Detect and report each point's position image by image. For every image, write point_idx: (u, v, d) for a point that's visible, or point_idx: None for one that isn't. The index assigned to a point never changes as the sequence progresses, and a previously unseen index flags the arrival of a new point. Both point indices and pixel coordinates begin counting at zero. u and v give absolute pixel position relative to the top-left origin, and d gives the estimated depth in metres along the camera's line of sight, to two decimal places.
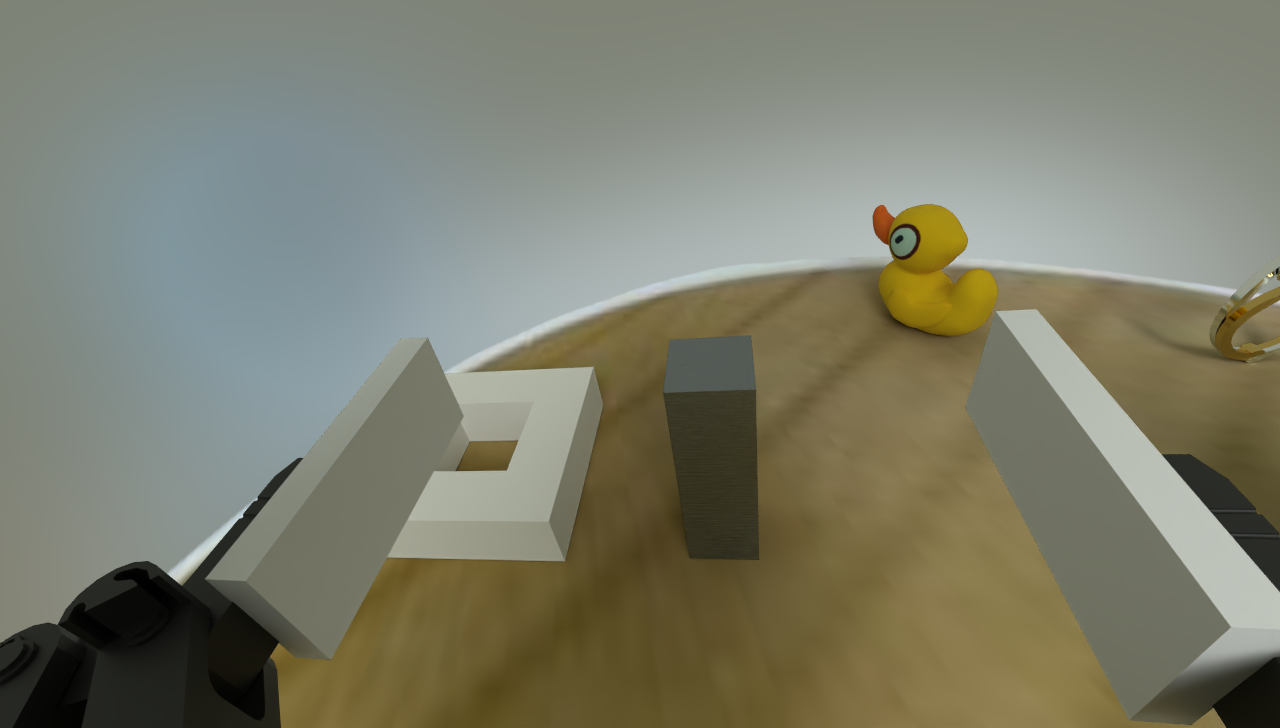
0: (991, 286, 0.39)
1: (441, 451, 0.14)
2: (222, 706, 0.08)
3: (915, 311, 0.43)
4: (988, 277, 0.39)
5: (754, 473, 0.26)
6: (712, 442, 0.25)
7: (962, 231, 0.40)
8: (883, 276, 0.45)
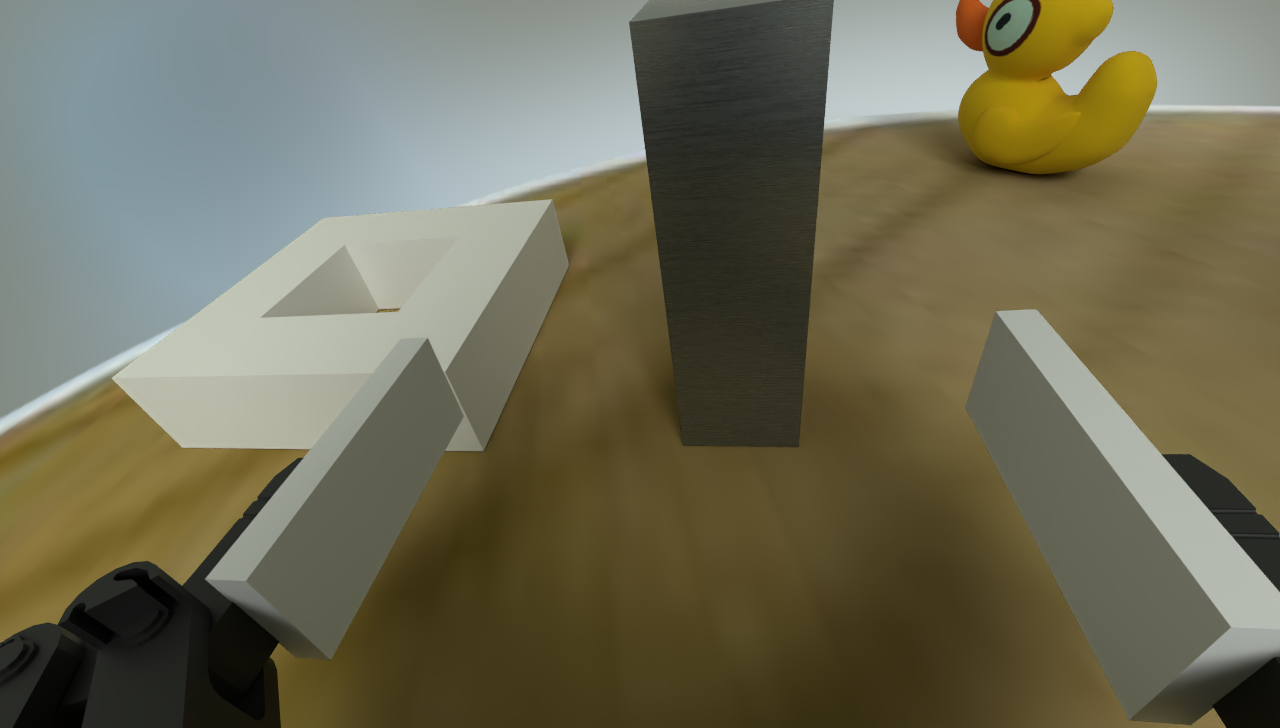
0: (1150, 74, 0.26)
1: (441, 451, 0.14)
2: (222, 706, 0.08)
3: (1018, 135, 0.30)
4: (1146, 60, 0.26)
5: (809, 250, 0.14)
6: (729, 169, 0.13)
7: None
8: (968, 96, 0.32)
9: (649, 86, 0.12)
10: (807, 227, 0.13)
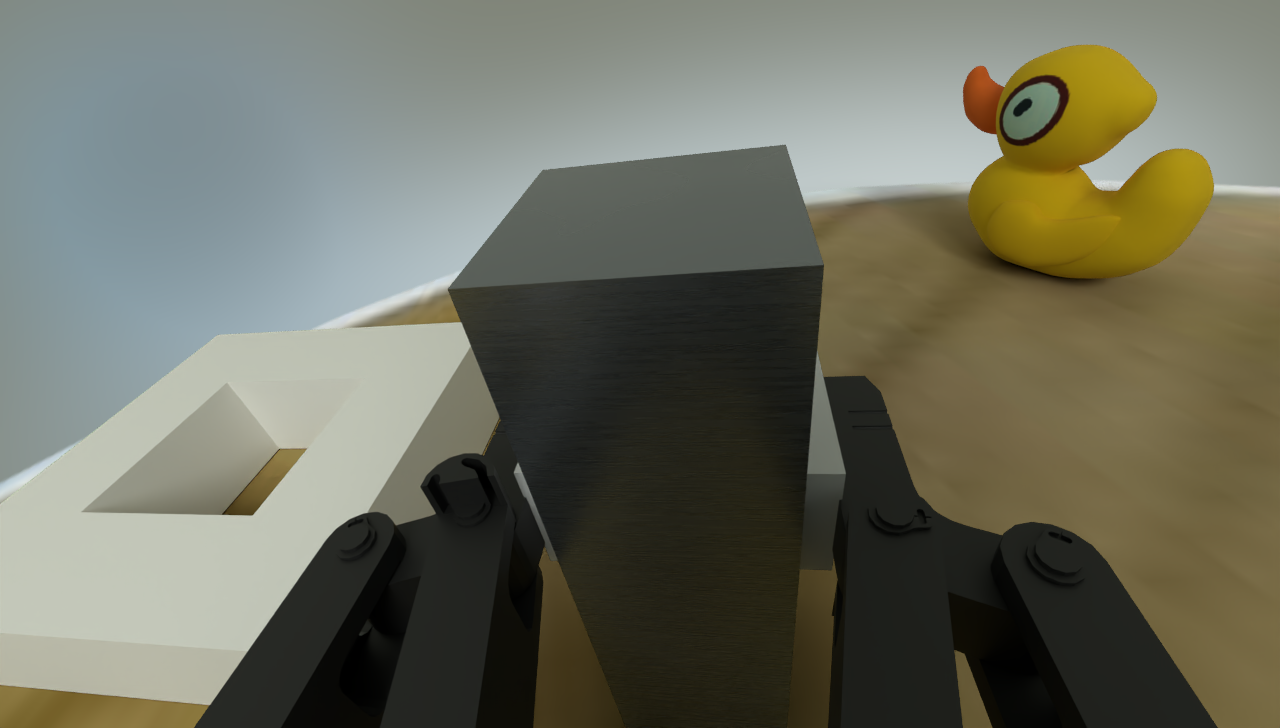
0: (1206, 177, 0.21)
1: None
2: (511, 612, 0.08)
3: (1043, 236, 0.25)
4: (1201, 161, 0.21)
5: (791, 572, 0.08)
6: (654, 479, 0.07)
7: (1147, 82, 0.22)
8: (980, 185, 0.27)
9: (502, 374, 0.07)
10: (787, 549, 0.08)
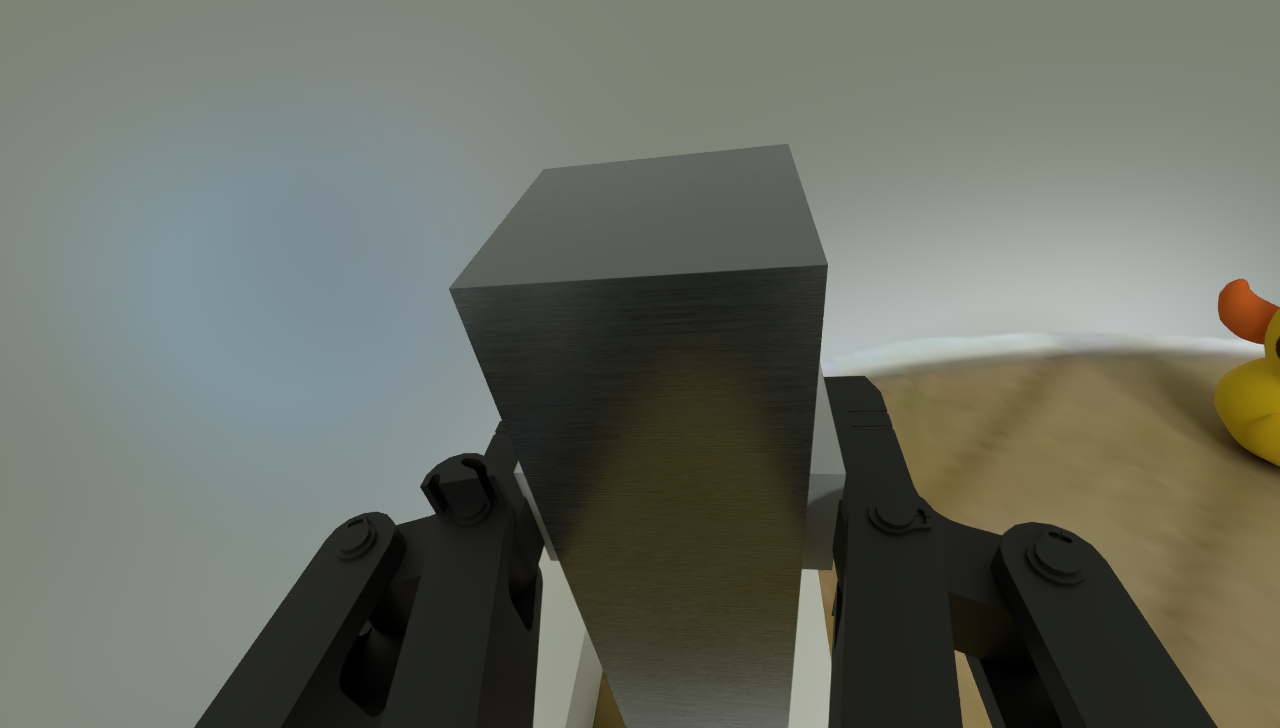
0: None
1: None
2: (511, 612, 0.08)
3: None
4: None
5: (793, 572, 0.08)
6: (656, 480, 0.07)
7: None
8: (1239, 389, 0.29)
9: (503, 374, 0.07)
10: (789, 549, 0.08)
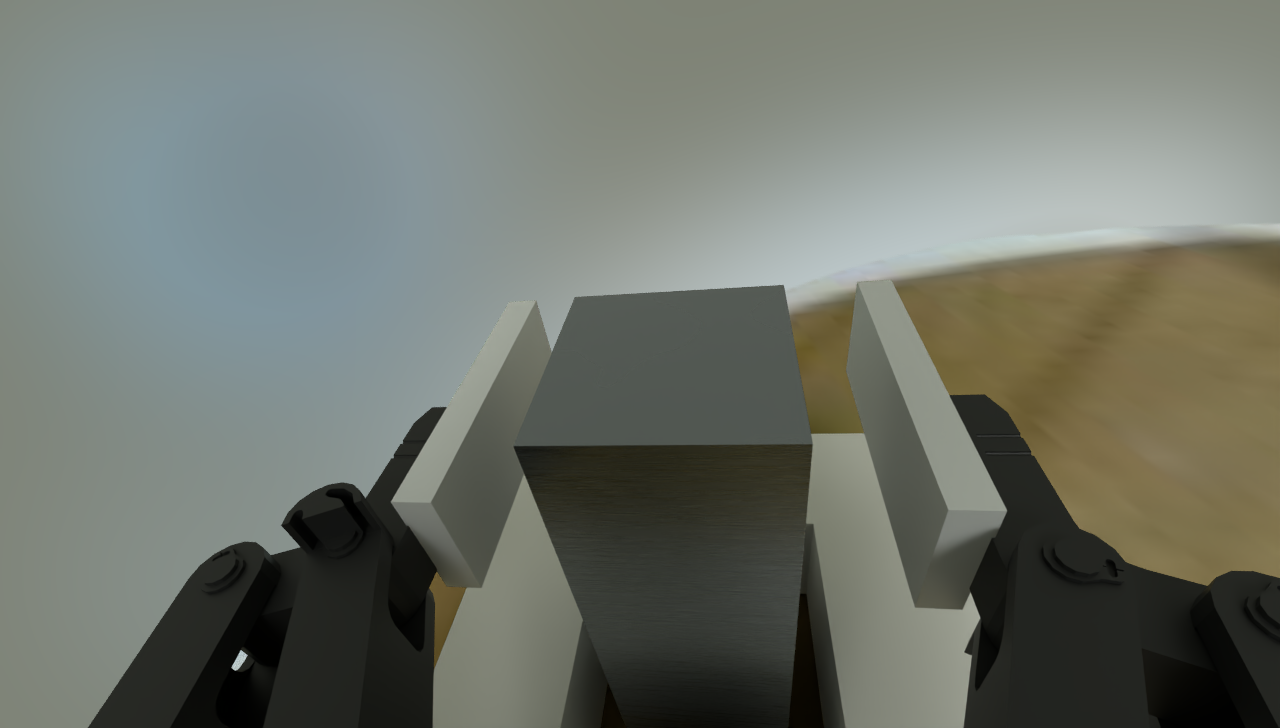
0: None
1: None
2: (395, 634, 0.08)
3: None
4: None
5: (788, 646, 0.10)
6: (674, 577, 0.09)
7: None
8: None
9: (552, 502, 0.08)
10: (785, 629, 0.10)
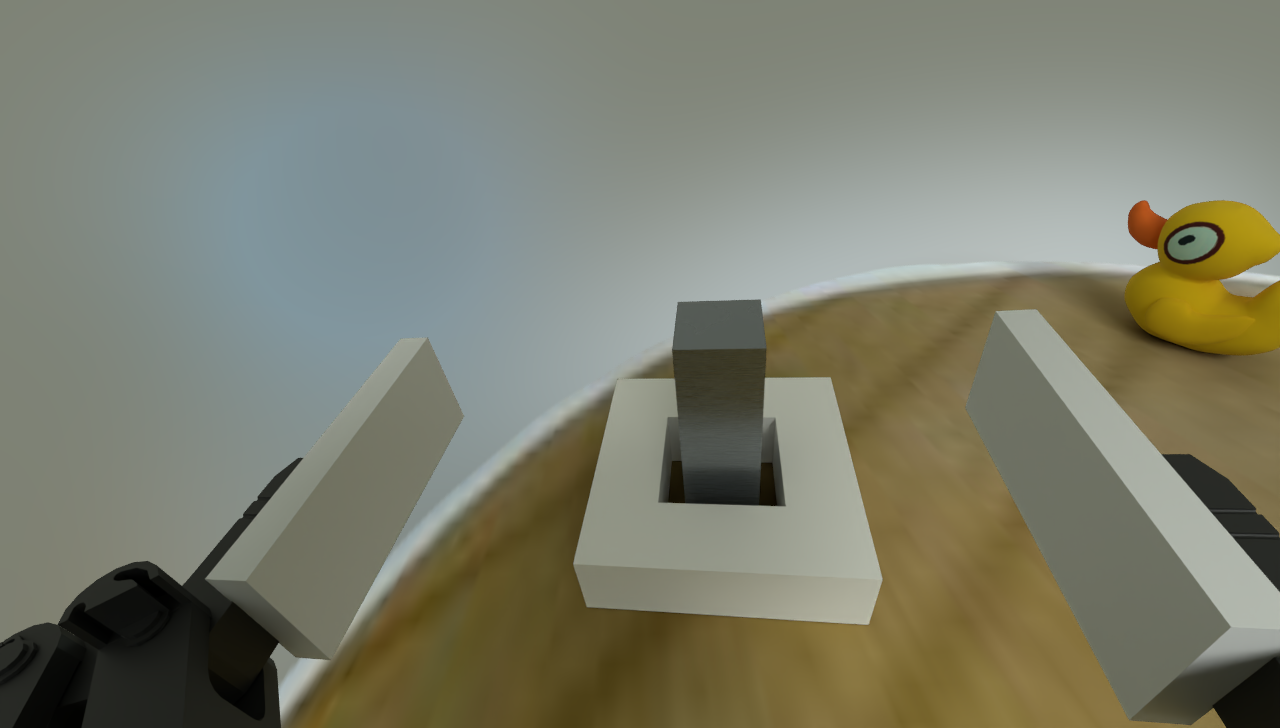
0: None
1: (441, 451, 0.14)
2: (222, 706, 0.08)
3: (1193, 325, 0.36)
4: None
5: (759, 439, 0.26)
6: (718, 404, 0.25)
7: (1277, 233, 0.33)
8: (1140, 283, 0.39)
9: (680, 372, 0.24)
10: (758, 429, 0.25)
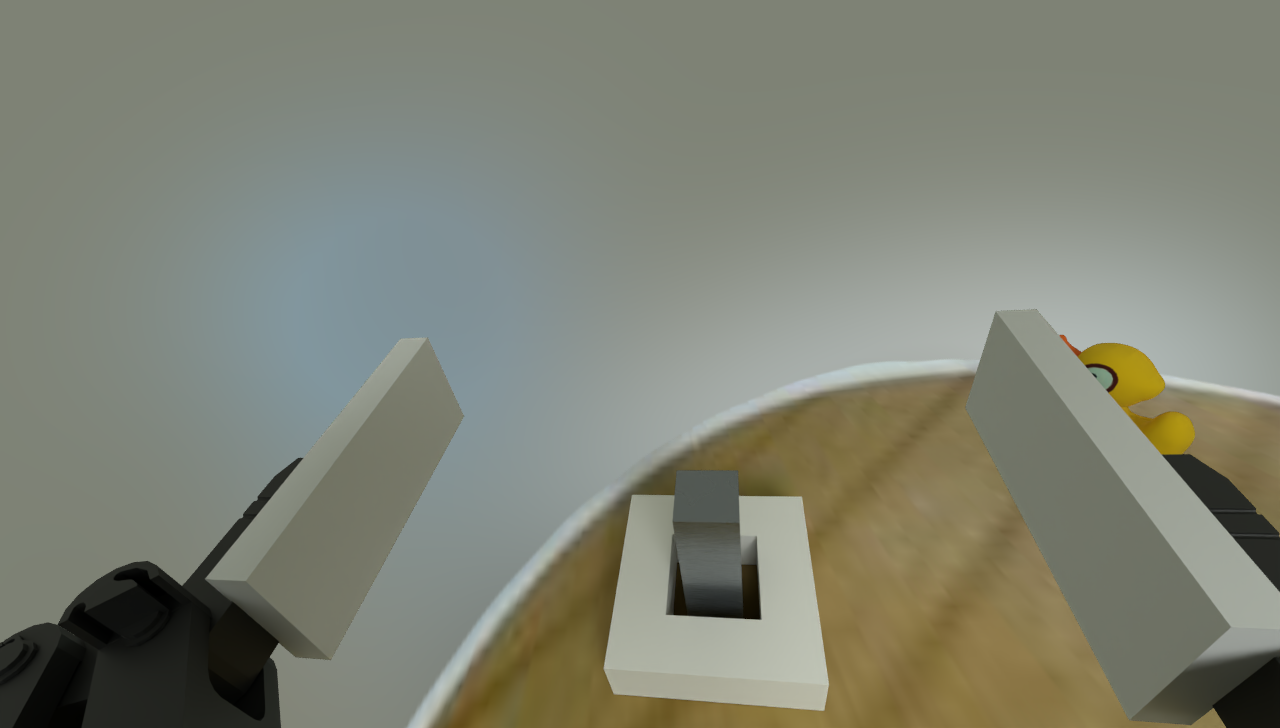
0: (1190, 431, 0.41)
1: (441, 451, 0.14)
2: (222, 706, 0.08)
3: None
4: (1188, 423, 0.41)
5: (739, 573, 0.35)
6: (707, 552, 0.34)
7: (1160, 376, 0.42)
8: None
9: (678, 533, 0.33)
10: (738, 567, 0.34)
